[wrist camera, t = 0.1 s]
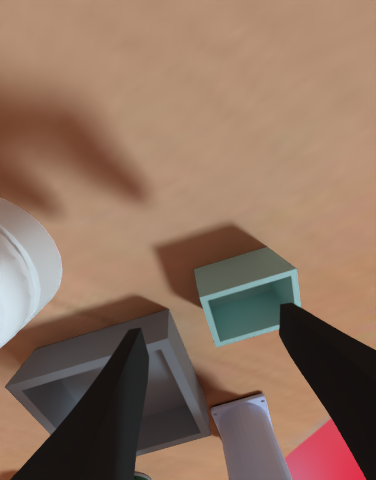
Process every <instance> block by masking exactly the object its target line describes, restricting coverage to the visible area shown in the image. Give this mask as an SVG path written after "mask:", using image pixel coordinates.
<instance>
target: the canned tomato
mask: <svg viewBox="0 0 376 480" xmlns="http://www.w3.org/2000/svg"><path fill="white" fill-rule="evenodd" d="M134 480H151V478H150V477H149V476H148V475H146V474H143V473H140V472H134Z"/></svg>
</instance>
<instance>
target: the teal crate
mask: <svg viewBox="0 0 376 480" xmlns="http://www.w3.org/2000/svg"><path fill="white" fill-rule="evenodd" d="M194 274H195V279H196V284H197V289H198V293H199V298H200V301H201V304H202V307H203V310H204V313H205V316H206V319H207V322H208V325H209V328H210V331H211V334H212V337H213V340H214V342H215V345H216V347H219V346H223V345H226V344H230V343H233V342H237V341H240V340H243V339H247V338H250V337H254V336H257V335H261V334H264V333H267V332H271V331H274V330H278V329H279V324H280V304H285V303H291V302H292V303H294V304H295V305H297V306H299V307H301V302H300V294H299V285H298V276H297V268H295V267H294V266H292V265H291V264H290V263H288V262H287V261H286V260H284V259H283V258H282V257H280V256H279V255H278V254H276V253H275V252H274V251H272V250H271V249H270V248H268V247H265V248H261V249H258V250H255V251H252V252H248V253H245V254H242V255H239V256H235V257H232V258H229V259H225V260H222V261H219V262H216V263H212V264H209V265H206V266H203V267H199V268H196V269H194Z"/></svg>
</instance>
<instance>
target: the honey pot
mask: <svg viewBox="0 0 376 480" xmlns="http://www.w3.org/2000/svg"><path fill="white" fill-rule="evenodd" d="M62 272H63V271H62V263H61V256H60V254H59V251H58V249H57V247H56V245H55V242H54V240H53V239H52V237H51V236H50V235H49V233H48V232H47V231H46V229H45V228H44V227H43V226H42V224H41V223H39V222H38V221H37V220H36V219H35V218H34V217H32V216H31V215H30V214H29V213H28V212H27V211H25V210H24V209H22V208H20V207H18V206H17V205H15V204H13V203H11V202H9V201H8V200H6V199H3V198H0V348H1V347H2V346H4V345H5V344H6V343H7V342H8V341H9V340H10V339H12V338H13V337H14V336H15V335H16V334H17V332H18V331H19V330H21V329H22V328H23V327H24V326H25V325H26V324H27V323H28V322H29V321H30V320H31V319H32V318H33V317H34V316H35V315H36V314H37V313H38V312H39V311H40V310H41V309H42V308H43V307H44V306H45V305H46V304H47V303H48V302H49V301H50V300H51V299H52V298H53V297H54V295H55V293H56V292H57V290H58V288H59V287H60V283H61V278H62Z"/></svg>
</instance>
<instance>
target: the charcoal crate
mask: <svg viewBox="0 0 376 480" xmlns="http://www.w3.org/2000/svg"><path fill="white" fill-rule="evenodd" d="M135 328H141V329H142V333H143V336H144V340H145V344H146V347H147V351H148V354H149V372H148V383H147V389H146V396H145V402H144V408H143V414H142V420H141V426H140V432H139V438H138V445H137V452H136V456H139V455H143V454H147V453H150V452H154V451H157V450H161V449H164V448H168V447H171V446H175V445H179V444H182V443H186V442H189V441H193V440H196V439H200V438H203V437H207V436H211V431H210V424H209V417H208V410H207V403H206V397H205V395H204V392H203V390H202V388H201V385H200V383H199V380H198V378H197V376H196V373H195V371H194V368H193V366H192V364H191V361H190V359H189V356H188V354H187V352H186V349H185V347H184V344H183V342H182V339H181V337H180V335H179V332H178V330H177V327H176V325H175V323H174V320H173V318H172V315H171V313H170V311H169V309H167V310H163V311H160V312H157V313H153V314H150V315H147V316H143V317H140V318H137V319H134V320H130V321H127V322H124V323H120V324H117V325H114V326H110V327H107V328H104V329H100V330H97V331H94V332H90V333H87V334H84V335H81V336H77V337H74V338H71V339H67V340H64V341H61V342H57V343H54V344H51V345H47V346H44V347H41V348H37V349H35V350H34V351H33V352H32V354H31V355H30V356H29V357H28V359H27V360H26V361H25V362H24V364H23V365H22V366H21V367H20V369H19V370H18V371H17V372H16V374H15V375H14V376H13V377H12V379H11V380H10V381H9V382H8V383H7V385H6V386H5V388H6V389H7V390H8V391H9V392H10V393H11V394H12V395H13V396H14V397H15V398H16V399H17V400H18V401H19V402H20V403H21V404H22V405H23V406H24V407H25V408H26V409H27V410H28V411H29V412H30V414H31V415H32V416H33V417H34V418H35V419H36V420H37V421H38V422H39V423H40V424H41V425H42V426H43V427H44V428H45V429H46V430H47V431H48V432H49V433H50V434H52V433H53V432H54V431H55V430H56V429H57V427H58V426H59V425H60V424H61V423H62V421H63V420H64V419H65V418H66V417H67V415H68V414H69V413H70V412H71V410H72V409H73V408H74V407H75V405H76V404H77V403H78V402H79V400H80V399H81V398H82V396H83V395H84V394H85V392H86V391H87V390H88V388H89V387H90V386H91V384H92V383H93V382H94V380H95V379H96V378H97V376H98V375H99V373H100V372H101V370H102V369H103V368H104V366H105V365H106V363H107V362H108V360H109V359H110V357H111V356H112V354H113V353H114V351H115V350H116V348H117V347H118V345H119V344H120V342H121V341H122V339H123V337H124V336H125V334H126V333H127V331H128V330H129V329H135Z"/></svg>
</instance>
